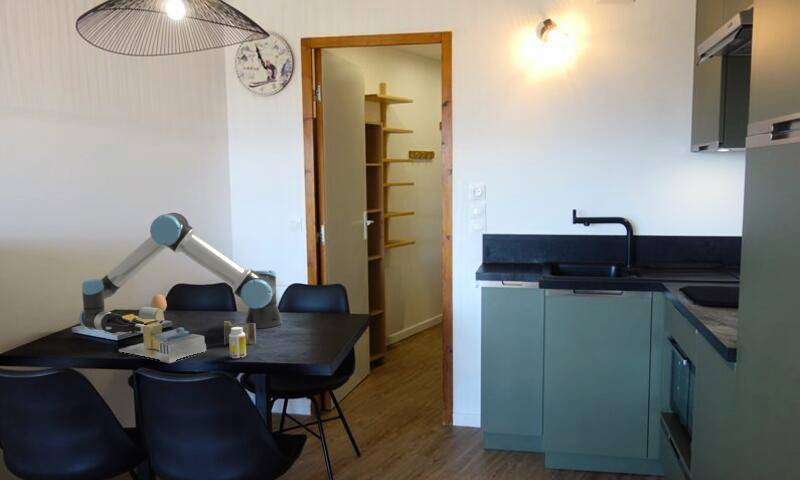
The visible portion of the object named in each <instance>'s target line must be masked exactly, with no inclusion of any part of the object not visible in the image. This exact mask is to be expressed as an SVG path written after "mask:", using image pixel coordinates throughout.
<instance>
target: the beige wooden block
mask: <svg viewBox="0 0 800 480" xmlns="http://www.w3.org/2000/svg"><path fill="white" fill-rule="evenodd" d="M159 333H163V324H162V323H161V324H157V323H153V324H149V325H144V326H143V333H142V335H143V343H144V347H145V348H149V349H157V350H159V343H162V342H166V341H163V340H158V339H155V337H154V335H155V334H159Z"/></svg>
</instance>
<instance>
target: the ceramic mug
mask: <svg viewBox="0 0 800 480" xmlns="http://www.w3.org/2000/svg"><path fill="white" fill-rule="evenodd" d="M137 317H138V318H141V319H155V320H164V321H165V317H164V312H163V311H162V310H161V309H158V308H152V307H151V306H142V307H141V308H140V310H139V312H138V315H137Z"/></svg>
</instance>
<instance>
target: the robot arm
mask: <svg viewBox="0 0 800 480" xmlns="http://www.w3.org/2000/svg"><path fill="white" fill-rule="evenodd" d="M149 232H150V236H149V237H148V238H147V239H146V240H145V241H144V242H142V243H141V244H139V246H137V248H136V249H134V250H133V251H132V252H131V253H130V254H129V255H128V256H126V257H125V258H124V259H123V260H122V261H121V262H120V263H118V264H117V265H116V266H115V267H114V268H112V269H111V270H110V271H109V272H108V273H107V274H106V275H105V276H104V277H102V278H101V279H100V278H99V279H98V278H95V279H86V280H83V281H82V283H81V293H82V302H83V304H82V306H83V307H82V308H83V310H82V311H81V312H80V314H79V316H78V321H79V324H80V325H81V326H82V327H84V328H87V329H89V330H97V331H100V332H101V331H102V332H104V333H110V334H116V333H127V334H128V333H130V332H131V334H134V335H135V334H136V333H141V334H143V326H144V322H142V321H139V319H137V318H136V317H134V318H132V319H131V320H130V319H126V318H124V317H123V316H122V315H121V314H119V313H115V312H111V311H110V312H109V311H106V309H105V300H106V299H108V298H109V297H110V298H111V297H112V296H113V295H115V294H116V293H117V291H118V290H120V288H121V287H122V286H124V285H125V284H126V283H128V281H129V280H131V279H132V278H133V277H134V276H136V274H138V273H139V272H140V271H141V270H142V269H144V267H146V266H147V265H148V264H149V263H151V262H152V261H153V259H155V258H156V257H157V256H158V255H160V254H161V253H162V252H163V251H164V250H165V249H166V248H167V249H170V250H171V251H173V252H174V253H182V254H184V255H185V256H187V257H188V258H189V259H191V260H193V261H194V262H195V263H196V264H198V265H199V266H201V267H203V268H204V269H205V270H207V271H208V272H209V273H211V274H213V275H214V276H215V277H217V278H218V279H220V280H221V281H222V282H224V283H225V284H226V285H228V286H230V287H231V288H232V293H233V294H234V295H236V296H237V297H239V298H240V299H241V301H242V302H243V304H244V305H245V306H246V307H248V309H247V311H246V315H245V316H246V317H245V319H244V324H251V323H255V325H256V329H269V328H273V327H277V326H281V324H282V317H281V313H280V311H279V308H278V304H277V276H276V271H275V270H270V269H269V270H253V269H252V268H250V269H245V268H244V267H242V266H240V265H239V264H238V263H236V262H235V261H234V260H233V259H231V258H230V257H228V256H226V255H225V254H224V253H222V252H221V251H219V249H217V248H215V247H214V246H212V245H210V244H209V243H208V242H207V241H205V240H204V239H202V237H199V236H198V235H196V234H195V233H196V231H195V229H194V227H192V226H190V225H189V221H188V220H187V218H186V217H185V216H184V215H182V214H181V213H178V212H170V213H165V214H161V215H158V216H157V217H156V218H155V219H154V220H153V221H152V222H151V225H150V228H149Z"/></svg>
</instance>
